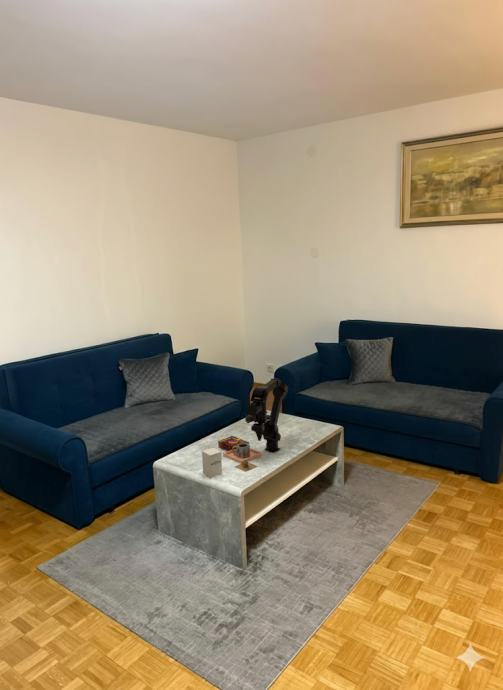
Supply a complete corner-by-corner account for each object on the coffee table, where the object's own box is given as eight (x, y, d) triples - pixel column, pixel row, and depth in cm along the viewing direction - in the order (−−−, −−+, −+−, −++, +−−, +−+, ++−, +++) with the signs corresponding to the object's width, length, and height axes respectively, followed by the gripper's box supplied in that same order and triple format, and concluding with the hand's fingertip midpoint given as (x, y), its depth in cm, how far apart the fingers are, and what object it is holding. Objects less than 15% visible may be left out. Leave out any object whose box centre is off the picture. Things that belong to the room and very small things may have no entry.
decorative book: (234, 455, 279) (234, 447, 278) (216, 447, 291) (216, 439, 290) (249, 449, 287) (249, 441, 286) (231, 442, 298) (231, 434, 297)
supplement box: (210, 478, 251) (209, 455, 249) (202, 473, 257) (201, 450, 255) (222, 474, 255) (221, 451, 253) (214, 469, 261) (213, 447, 259)
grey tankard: (251, 453, 278) (250, 443, 277) (248, 458, 272) (247, 448, 270) (235, 452, 281) (235, 442, 279) (232, 457, 274) (231, 447, 273)
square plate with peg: (246, 462, 269) (246, 456, 268) (258, 467, 262) (258, 461, 262) (234, 467, 263) (233, 461, 262) (245, 472, 256) (245, 466, 256)
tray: (243, 448, 287) (243, 445, 286) (262, 456, 276) (261, 452, 275) (223, 456, 277) (223, 453, 276) (241, 465, 266) (241, 461, 265)
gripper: (251, 403, 279) (252, 430, 282) (241, 414, 261) (242, 442, 264) (270, 405, 276) (271, 431, 279) (261, 416, 258) (262, 444, 261)
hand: (261, 437), depth 271 cm, fingers open, 9 cm apart
